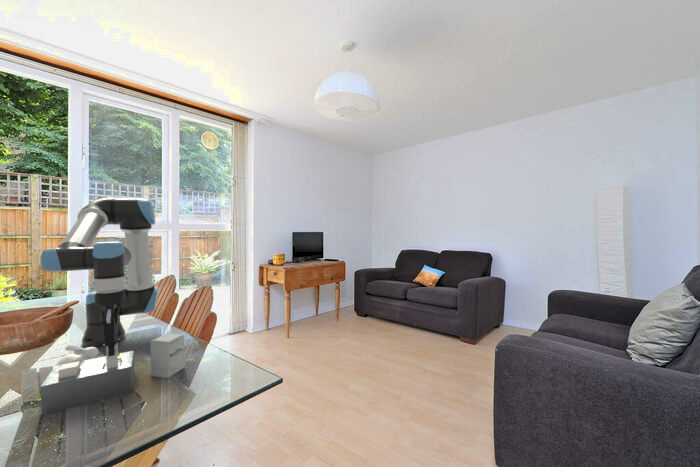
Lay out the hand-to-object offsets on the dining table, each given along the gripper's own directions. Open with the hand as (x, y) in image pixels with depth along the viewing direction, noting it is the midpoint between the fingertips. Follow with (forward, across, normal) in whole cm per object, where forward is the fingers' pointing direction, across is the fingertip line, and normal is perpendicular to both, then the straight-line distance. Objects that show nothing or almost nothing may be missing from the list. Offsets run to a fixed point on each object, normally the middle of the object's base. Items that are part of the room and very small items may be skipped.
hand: (112, 364), depth 93 cm
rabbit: (+8, -17, -11) cm, 22 cm away
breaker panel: (+8, -2, -5) cm, 10 cm away
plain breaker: (+3, 0, -10) cm, 10 cm away
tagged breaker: (+5, 0, 0) cm, 5 cm away
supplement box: (+8, -3, +15) cm, 17 cm away
